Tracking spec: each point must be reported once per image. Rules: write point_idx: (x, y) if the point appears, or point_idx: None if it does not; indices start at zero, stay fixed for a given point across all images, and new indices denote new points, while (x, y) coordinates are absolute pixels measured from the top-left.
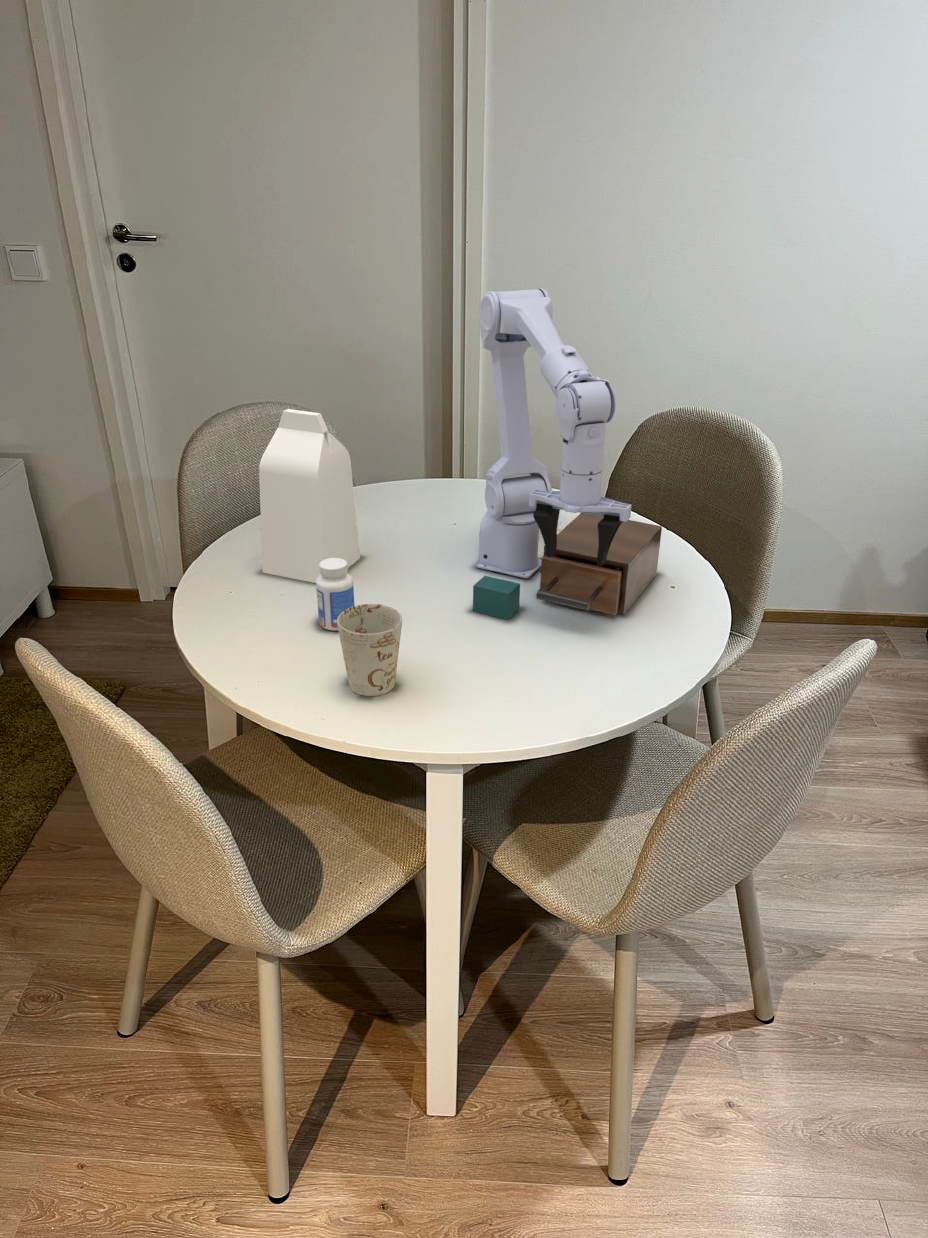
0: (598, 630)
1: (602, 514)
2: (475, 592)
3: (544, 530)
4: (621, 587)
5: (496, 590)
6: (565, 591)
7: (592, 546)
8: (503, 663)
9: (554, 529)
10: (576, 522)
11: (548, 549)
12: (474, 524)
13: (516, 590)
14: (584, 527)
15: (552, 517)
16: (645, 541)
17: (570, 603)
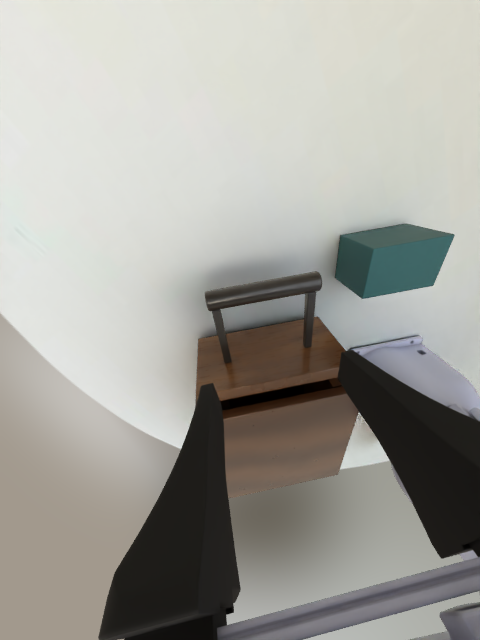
0: (200, 297)
1: (232, 638)
2: (436, 231)
3: (437, 414)
4: None
5: (402, 246)
6: (283, 336)
7: (284, 430)
8: (284, 22)
9: (389, 435)
10: (336, 457)
11: (363, 364)
12: None
13: (361, 280)
14: (320, 455)
15: (450, 490)
16: None
17: (242, 285)
